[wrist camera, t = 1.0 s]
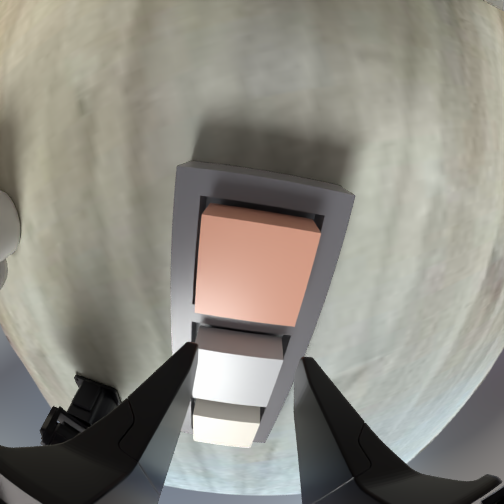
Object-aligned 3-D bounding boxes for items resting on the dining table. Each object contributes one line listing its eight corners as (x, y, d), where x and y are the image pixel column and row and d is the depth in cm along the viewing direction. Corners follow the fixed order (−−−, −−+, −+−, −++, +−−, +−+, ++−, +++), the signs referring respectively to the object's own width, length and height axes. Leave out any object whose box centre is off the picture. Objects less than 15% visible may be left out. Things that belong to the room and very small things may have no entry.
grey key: (266, 385, 22) (266, 407, 19) (197, 376, 21) (192, 397, 19) (281, 336, 19) (283, 360, 17) (199, 325, 19) (193, 347, 17)
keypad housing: (264, 421, 29) (264, 442, 26) (183, 410, 28) (179, 431, 25) (339, 185, 17) (355, 195, 14) (191, 160, 17) (176, 166, 14)
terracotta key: (291, 304, 18) (294, 326, 16) (201, 291, 18) (194, 312, 16) (312, 219, 16) (321, 233, 13) (210, 202, 15) (201, 214, 13)
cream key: (250, 430, 25) (250, 447, 23) (196, 423, 25) (193, 440, 23) (260, 403, 23) (259, 423, 21) (197, 394, 23) (192, 414, 20)
